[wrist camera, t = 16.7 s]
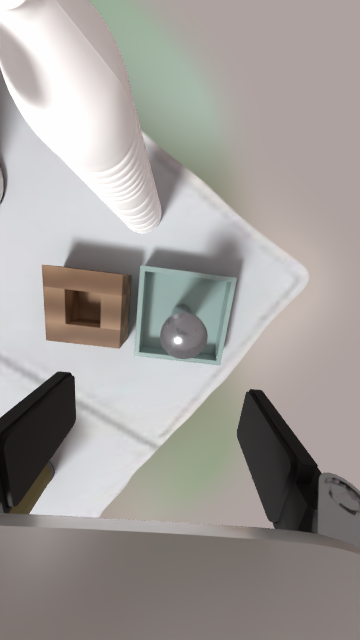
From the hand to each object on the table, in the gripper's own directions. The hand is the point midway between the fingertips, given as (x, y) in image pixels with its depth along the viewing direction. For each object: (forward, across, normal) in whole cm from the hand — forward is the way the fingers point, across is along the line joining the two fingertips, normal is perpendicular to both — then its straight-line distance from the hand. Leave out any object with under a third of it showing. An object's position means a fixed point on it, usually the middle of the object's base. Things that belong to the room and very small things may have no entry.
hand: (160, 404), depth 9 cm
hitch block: (+24, +14, 0) cm, 28 cm away
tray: (+24, -2, 0) cm, 24 cm away
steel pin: (+24, -2, 0) cm, 24 cm away
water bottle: (+25, +7, -15) cm, 30 cm away
